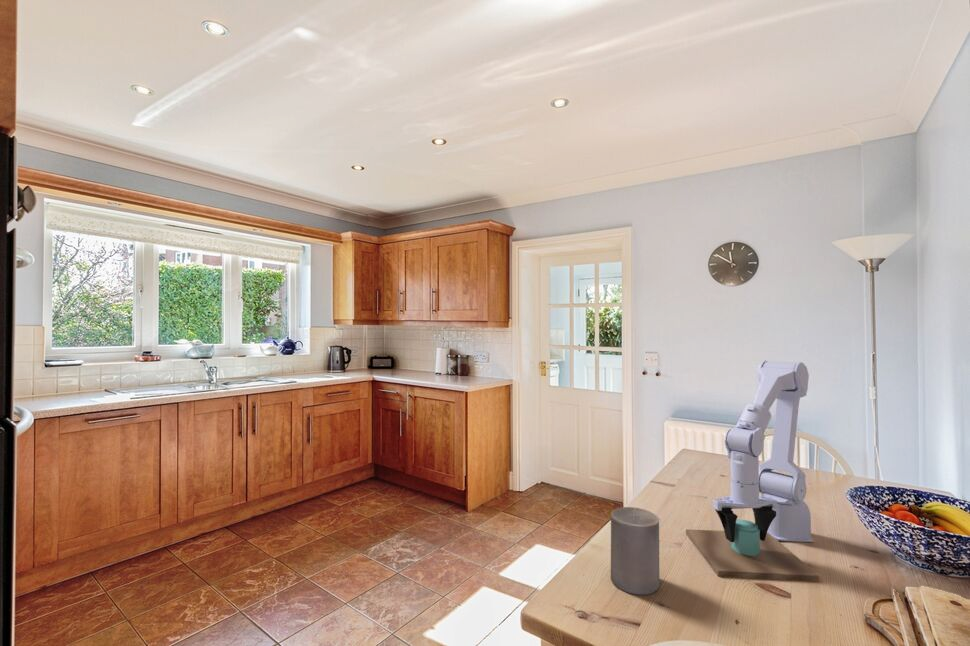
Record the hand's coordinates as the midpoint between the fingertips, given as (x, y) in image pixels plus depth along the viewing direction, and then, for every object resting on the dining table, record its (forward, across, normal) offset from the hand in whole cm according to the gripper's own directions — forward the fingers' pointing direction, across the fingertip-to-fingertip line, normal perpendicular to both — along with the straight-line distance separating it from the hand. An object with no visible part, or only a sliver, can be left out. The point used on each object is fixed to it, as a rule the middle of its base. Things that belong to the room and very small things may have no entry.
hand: (745, 539), depth 104 cm
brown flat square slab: (+4, 0, 0) cm, 4 cm away
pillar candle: (+4, +30, +9) cm, 32 cm away
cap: (+2, 0, 0) cm, 2 cm away
